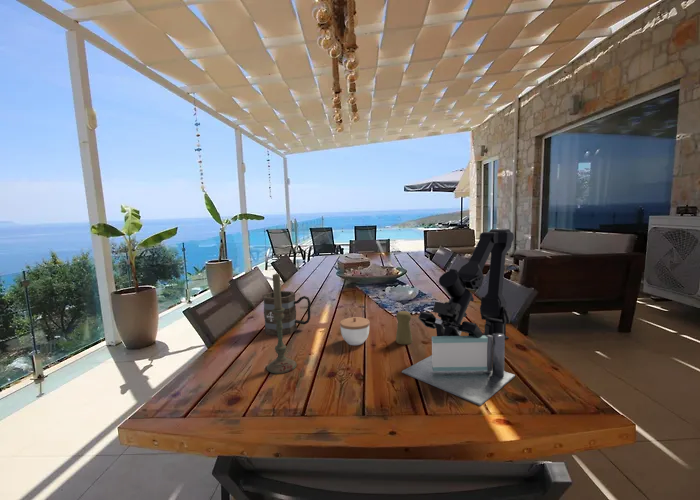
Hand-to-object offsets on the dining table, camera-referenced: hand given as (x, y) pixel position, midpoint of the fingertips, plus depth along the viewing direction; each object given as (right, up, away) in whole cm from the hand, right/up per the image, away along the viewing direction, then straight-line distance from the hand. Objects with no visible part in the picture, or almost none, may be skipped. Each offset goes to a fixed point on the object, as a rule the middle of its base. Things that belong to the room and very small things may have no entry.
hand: (437, 350), depth 96 cm
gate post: (+5, -6, -2) cm, 8 cm away
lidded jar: (-24, -5, +25) cm, 35 cm away
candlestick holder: (-47, -7, +7) cm, 48 cm away
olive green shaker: (-6, -4, +24) cm, 25 cm away
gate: (+7, -5, -1) cm, 9 cm away
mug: (-51, -4, +41) cm, 66 cm away
